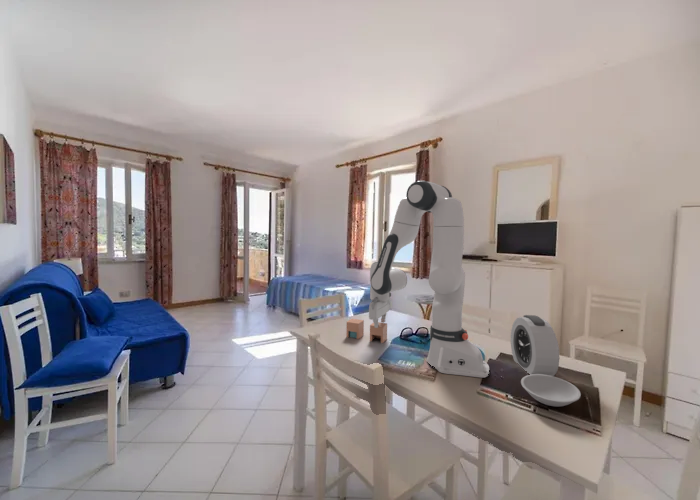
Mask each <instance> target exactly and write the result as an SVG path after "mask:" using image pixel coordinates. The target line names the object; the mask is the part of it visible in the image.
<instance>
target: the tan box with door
mask: <svg viewBox="0 0 700 500" xmlns="http://www.w3.org/2000/svg"><path fill="white" fill-rule="evenodd" d="M364 322H365V321H364V319H357V318H350V319H349V320H348V321H346V332H345V333H346V338H350V331H352V332H357V338H356V339H357V340H359V339H362V337H363V336H364V334H365V332H364V329H365V328H364V327H365V326H364V324H365V323H364Z"/></svg>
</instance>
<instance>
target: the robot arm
mask: <svg viewBox="0 0 700 500" xmlns="http://www.w3.org/2000/svg"><path fill="white" fill-rule="evenodd" d="M426 212H427V213H428V214H429V213H432V215H433V216H432V217H433V229H432V230H433V233H432V234H433V235H432V236H433V239H432V241H433V242H432V243H433V244H432V253H431V259H430V265H429V266H430V268H429V276H428V284H429V286H430V288H431V289H432V290H433V291H434V294H433V295H434V296H433V301H432V306H431V325H430V329H429V339H430V344H429V350H428V354H427V358H426V362H427V361H428V363H429V364H430V365H431V366H430V365H429V364H428V363H427V364H428V365H429V366H430V367H432V366H434V367H435V368H434V367H433V368H434V369H436V370H437V371H438V372H439V373H442V374H448V375H456V376H466V377H475V378H487V377H488V376H489V375H490V372H489V370H490V366H489V363H487V362H486V361H485V360H484V358H483V354H482V351H481V350H480V348H478V346H476V345H475V344H474V343H472V342H471V341H470V340H469V339H468V338H469V334H468V330H467V329H465V328H463V326H462V325H463V305H464V297H465V295H464V294H465V285H466V274H465V273H466V272H465V270H464V268H463V267H462V265H463V253H464V247H465V245H464V243H465V217H464V208H463V204H462V202H461V200H459V199H458V198H455V197H453V196H452V192H451V191H450V190H449V188H447V187H446V186H444V185H441V184H438V183H436V182H431V181H426V180H417V181H414V182H412V183H411V184H410V185H409V186H408V188H407V189H406V197H403V198H402V199H401V200H400V202H399V204H398V206H397V209H396V212H395V216H394V220H393V224H392V226H391V230H390V232H389V234H388V236H387V237H386V239H385V241H384V243H383V245H382V248H381V250H380V251H381V252H380V255H379V258H378V260H377V261H374V262H372V264H371V265H370V268H369V281H370V288H369V292H370V293H369V295H370V300H371V301H370V303H369V306H368V319H369V320H372V323H374V327H375V328H378V327H379V323H378V322H379V319H380V323H386V318H387V313H388V312H389V311H390V310H391V297H392V292H396V291H399V290H402V289H403V290H404V288H406V286H407V284H408V276H407V274H406V273H405V271H404V270H402V269H401V268H400V269H399V268H396V267H394V266H393V265H394V261H395V259H396V256H397V254H398V252H399V251H400V250H401V249H402V248H404V247H406V246H407V245H409V244H411V243H412V242H414V241H415V240H416V238H417V237H418V233H419V230H420V225H421V221H422V217H423V215H424V214H425V213H426ZM488 374H489V375H488Z"/></svg>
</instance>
